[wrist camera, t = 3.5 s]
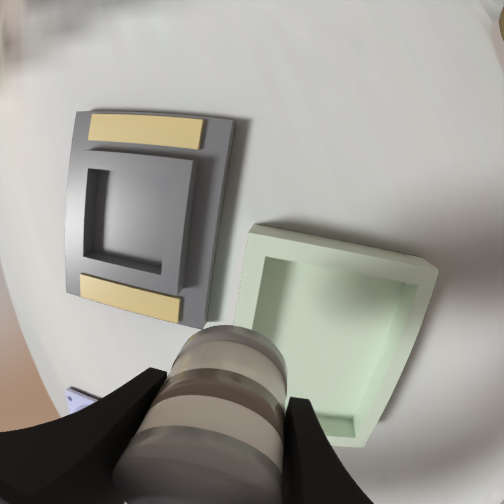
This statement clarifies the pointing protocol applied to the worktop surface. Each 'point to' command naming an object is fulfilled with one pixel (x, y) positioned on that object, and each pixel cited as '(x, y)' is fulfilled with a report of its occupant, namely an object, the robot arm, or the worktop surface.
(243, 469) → the cylinder
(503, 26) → the squeeze bottle
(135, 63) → the worktop surface
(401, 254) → the parts tray
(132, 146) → the fuse holder
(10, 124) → the worktop surface
